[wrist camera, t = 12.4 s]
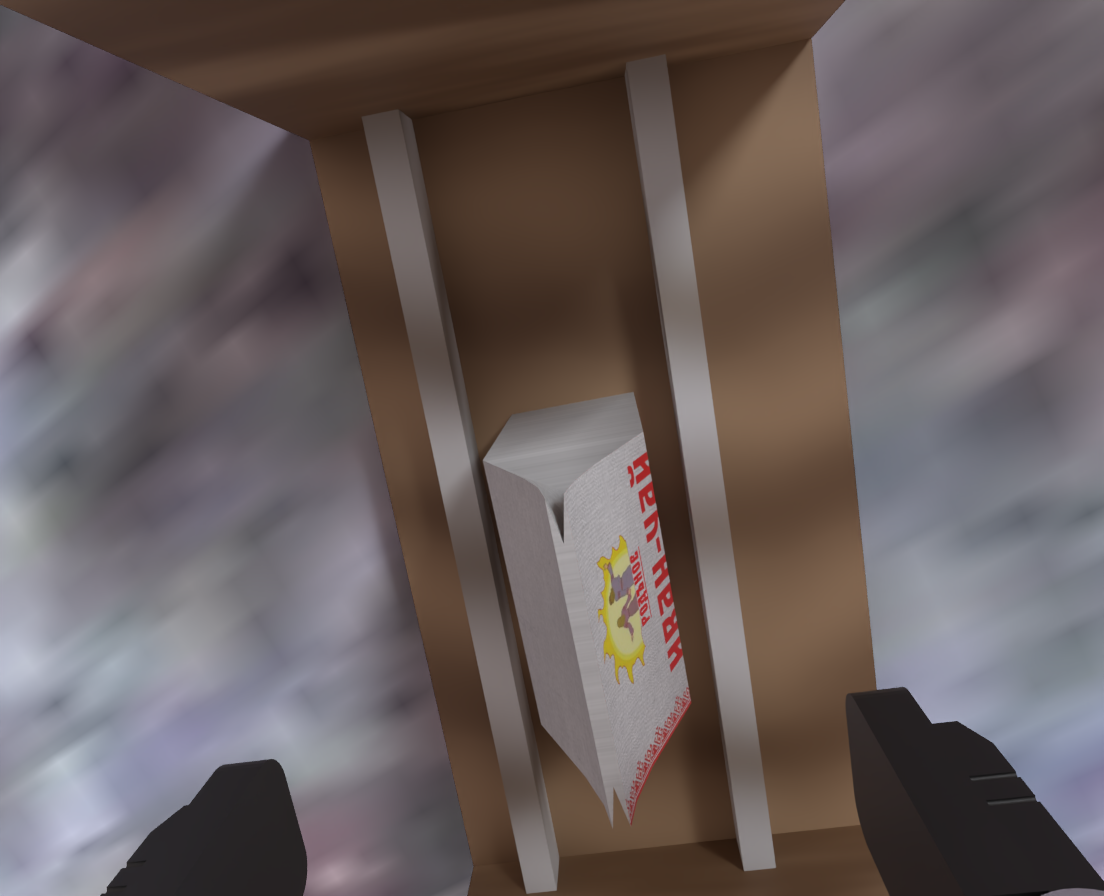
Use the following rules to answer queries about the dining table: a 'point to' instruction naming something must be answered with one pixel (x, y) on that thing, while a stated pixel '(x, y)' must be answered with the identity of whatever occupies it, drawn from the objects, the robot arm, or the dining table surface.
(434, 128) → the wooden rack
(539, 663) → the white food carton
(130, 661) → the dining table surface
